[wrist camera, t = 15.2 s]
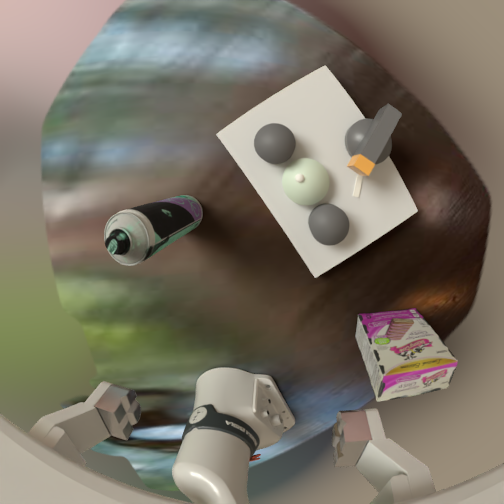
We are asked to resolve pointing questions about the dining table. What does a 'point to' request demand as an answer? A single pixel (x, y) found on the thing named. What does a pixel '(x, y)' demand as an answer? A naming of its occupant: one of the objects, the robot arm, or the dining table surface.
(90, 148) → the dining table surface
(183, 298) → the dining table surface
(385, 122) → the wing knob
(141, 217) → the spray can
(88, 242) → the dining table surface
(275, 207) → the base
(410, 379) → the candy bar box
